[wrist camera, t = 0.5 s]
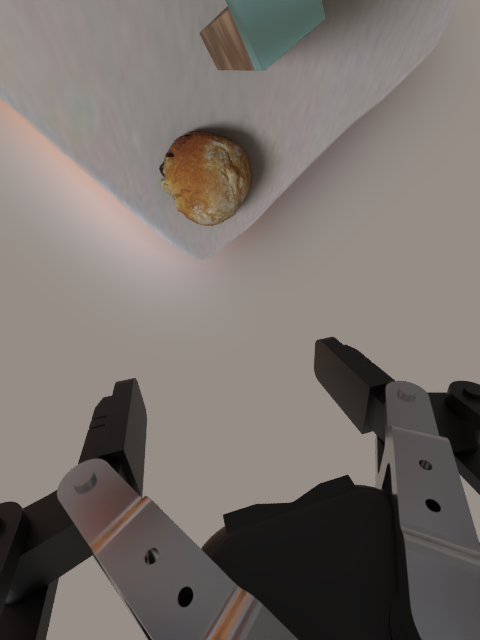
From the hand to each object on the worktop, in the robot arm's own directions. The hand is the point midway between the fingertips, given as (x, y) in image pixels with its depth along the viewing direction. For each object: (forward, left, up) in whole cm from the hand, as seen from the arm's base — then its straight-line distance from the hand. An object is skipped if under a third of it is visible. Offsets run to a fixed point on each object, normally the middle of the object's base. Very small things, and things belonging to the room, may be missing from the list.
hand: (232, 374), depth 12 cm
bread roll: (+1, +2, -30) cm, 30 cm away
